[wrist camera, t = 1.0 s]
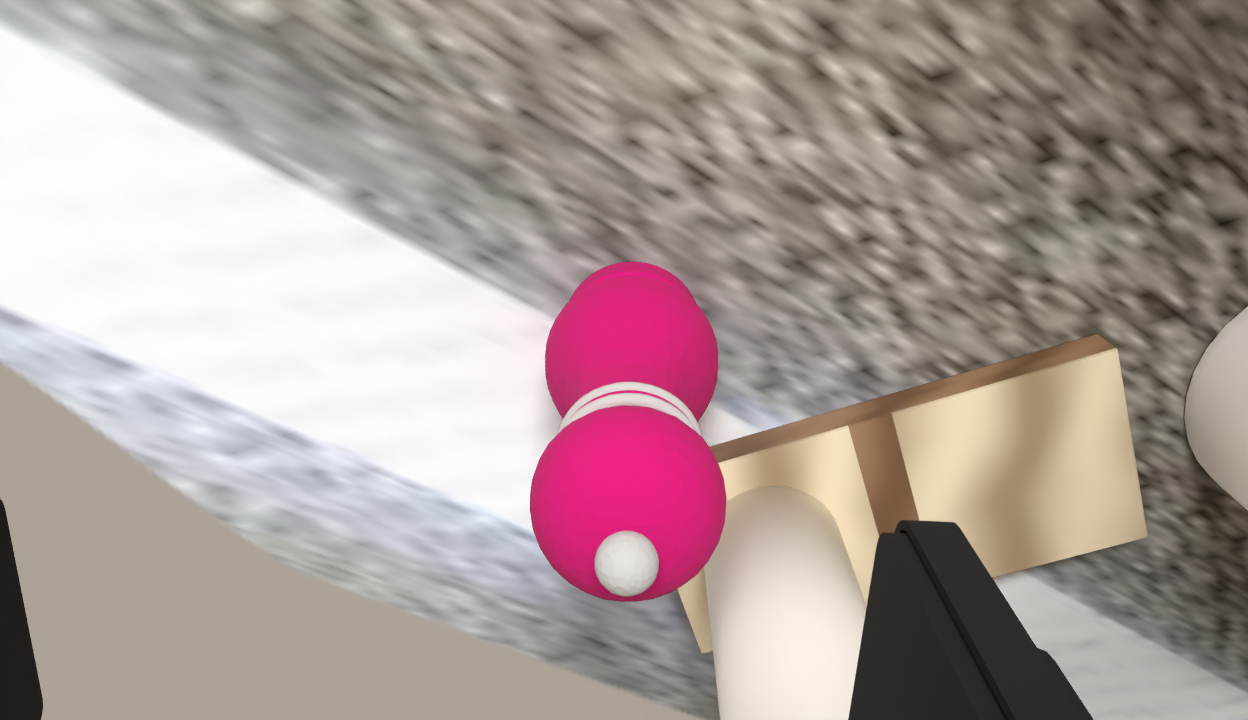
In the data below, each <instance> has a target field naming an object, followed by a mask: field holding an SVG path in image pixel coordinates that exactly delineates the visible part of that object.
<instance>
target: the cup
mask: <svg viewBox="0 0 1248 720" xmlns="http://www.w3.org/2000/svg"><path fill="white" fill-rule="evenodd" d="M1184 420H1185V426H1186V432H1187V438H1188V442H1189V444H1190V446H1191V449H1192V451H1193V453H1194V455H1195V457H1196V459H1197V461H1198V462H1199V464H1200V465H1201V466H1202V467H1203V468H1204V470H1205V471H1206V472H1207V473H1208V474H1209V475H1210V477H1211V478H1212V479H1213V480H1214V481H1215V482H1216V483H1217V484H1218V485H1219V486H1220V487H1222V488H1223V489H1224V490H1225V491H1226V492H1227V493H1228V494H1230V495H1231V496H1232V497H1233V498H1234V499H1235V500H1236V501H1237V502H1239V503H1240V504H1241V505H1242V506H1243V507H1244V508H1245V509H1247V510H1248V306H1247V307H1246V308H1245V309H1244V310H1243V311H1242V312H1240V313H1239V314H1238V315H1237V316H1236V317H1235V318H1234V319H1232V320H1231V321H1230V322H1229V323H1228V324H1227V325H1226V326H1225V327H1224V328H1223V329H1222V330H1221V331H1220V333H1219V334H1218V335H1217V336H1216V338H1215V339H1214V340H1213V341H1212V342H1211V344H1210V345H1209V346H1208V347H1207V349H1206V351H1205V352H1204V354H1203V356H1202V358H1201V360H1200V362H1199V363H1198V365H1197V367H1196V369H1195V371H1194V373H1193V376H1192V379H1191V383H1190V386H1189V389H1188V392H1187V395H1186V406H1185V419H1184Z"/></svg>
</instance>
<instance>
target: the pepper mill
mask: <svg viewBox="0 0 1248 720" xmlns="http://www.w3.org/2000/svg"><path fill="white" fill-rule="evenodd" d="M545 371H546V380H547V385H548V389H549V392H550V395H551V397H552V400H553V402H554V404H555V406H556V408H557V410H558V411H559V413H560V415H561V417H562V418H563V420H562V422H561V424H560V426H559V429H558V433H557V436H556V437H555V438H554V439H553V440H552V441H551V442H550V443H549V444H548V446H547V448H546V449H545V451H544V453H543V454H542V456H541V458H540V460H539V462H538V465H537V468H536V470H535V473H534V476H533V479H532V485H531V493H530V513H531V520H532V526H533V530H534V533H535V536H536V539H537V541H538V544H539V547H540V549H541V550H542V552H543V554H544V555H545V557H546V558H547V560H548V561H549V563H550V564H551V566H552V567H553V568H554V569H555V570H556V571H557V572H558V573H559V574H560V575H561V576H562V577H563V578H564V579H565V580H567V581H568V582H569V583H570V584H572V585H573V586H575V587H577V588H579V589H580V590H582V591H584V592H586V593H588V594H591V595H594V596H596V597H599V598H602V599H606V600H613V601H620V602H624V601H642V600H649V599H654V598H657V597H660V596H662V595H665V594H668V593H671V592H672V591H674V590H676V589H678V588H680V587H681V586H683V585H684V584H686V583H687V582H688V581H690V580H691V579H692V578H694V577H695V576H696V575H697V574H698V573H699V572H700V571H701V570H702V568H703V567H704V566H705V565H706V564H707V562H708V561H709V559H710V557H711V556H712V554H713V552H714V550H715V548H716V547H717V545H718V543H719V541H720V537H721V534H722V531H723V527H724V523H725V515H726V499H727V497H726V490H725V484H724V478H723V475H722V472H721V469H720V467H719V464H718V462H717V460H716V457H715V455H714V453H713V452H712V450H711V449H710V447H709V446H708V445H707V443H706V442H705V440H704V439H703V437H702V433H701V430H700V427H699V425H698V421H699V419H700V418H701V416H702V415H703V413H704V412H705V410H706V408H707V406H708V404H709V402H710V400H711V398H712V396H713V393H714V390H715V386H716V382H717V371H718V349H717V343H716V338H715V335H714V332H713V329H712V327H711V325H710V323H709V321H708V320H707V318H706V316H705V314H704V313H703V311H702V310H701V309H700V308H699V307H698V306H697V304H696V302H695V300H694V298H693V296H692V294H691V293H690V291H689V290H688V288H687V287H686V286H685V285H684V284H683V282H681V281H680V280H679V279H678V278H677V277H676V276H674V275H673V274H671V273H670V272H668V271H666V270H664V269H662V268H660V267H658V266H655V265H652V264H647V263H642V262H623V263H617V264H613V265H610V266H607V267H604V268H602V269H600V270H598V271H596V272H595V273H593V274H592V275H590V276H589V277H588V278H587V279H585V280H584V281H583V282H582V283H581V284H580V285H579V287H578V288H577V289H576V291H575V292H574V293H573V295H572V297H571V299H570V301H569V302H568V303H567V304H566V306H565V307H564V308H563V309H562V311H561V312H560V314H559V315H558V317H557V318H556V320H555V322H554V324H553V326H552V328H551V330H550V333H549V336H548V340H547V345H546V353H545Z"/></svg>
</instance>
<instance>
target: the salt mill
mask: <svg viewBox="0 0 1248 720" xmlns="http://www.w3.org/2000/svg"><path fill="white" fill-rule="evenodd" d="M704 572H705V581H706V590H707V600H708V609H709V619H710V628H711V638H712V647H713V656H714V666H715V675H716V685H717V694H718V703H719V713H720V720H848V718H849V712H850V706H851V700H852V694H853V687H854V681H855V675H856V669H857V663H858V657H859V650H860V644H861V638H862V632H863V626H864V620H865V614H866V607H867V606H866V603H865V600H864V597H863V595H862V592H861V589H860V586H859V583H858V581H857V578H856V575H855V572H854V569H853V567H852V564H851V561H850V558H849V555H848V553H847V550H846V547H845V544H844V541H843V539H842V536H841V533H840V530H839V527H838V525H837V522H836V520H835V518H834V516H833V515H832V513H831V512H830V511H829V509H828V508H827V507H826V506H825V505H824V504H823V503H822V502H821V501H819V500H818V499H817V498H815V497H814V496H812V495H810V494H808V493H806V492H804V491H801V490H798V489H795V488H791V487H784V486H765V487H759V488H754V489H751V490H748V491H745V492H742V493H740V494H738V495H736V496H734V497H733V498H731V499H730V500H728V501H727V502H726V515H725V523H724V527H723V531H722V534H721V537H720V541H719V543H718V545H717V547H716V548H715V550H714V552H713V554H712V556H711V557H710V559H709V561H708V562H707V564H706V565H705V566H704Z"/></svg>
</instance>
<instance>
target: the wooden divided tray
mask: <svg viewBox="0 0 1248 720" xmlns="http://www.w3.org/2000/svg"><path fill="white" fill-rule="evenodd" d="M710 449H711V450H712V452H713V453H714V455H715V457H716V460H717V462H718V464H719V467H720V469H721V472H722V475H723V478H724V484H725V490H726V497H727V499H726V502H727V501H728V500H730V499H731V498H733V497H734V496H736V495H738V494H740V493H742V492H745V491H748V490H751V489H754V488H759V487H765V486H784V487H791V488H795V489H798V490H801V491H804V492H806V493H808V494H810V495H812V496H814V497H815V498H817V499H818V500H819V501H821V502H822V503H823V504H824V505H825V506H826V507H827V508H828V509H829V511H830V512H831V513H832V515H833V516H834V518H835V520H836V522H837V525H838V527H839V530H840V533H841V536H842V539H843V541H844V544H845V547H846V550H847V553H848V555H849V558H850V561H851V564H852V567H853V569H854V572H855V575H856V578H857V581H858V583H859V586H860V589H861V592H862V595H863V597H864V600H865V603H866V606H867V601H868V595H869V589H870V583H871V577H872V571H873V564H874V558H875V552H876V546H877V542H878V539H879V536H880V534H882V533H883V532H886V533H894V532H895V529H896V527H897V524H898V523H899V522H900V521H901V520H917V521H940V522H954V523H956V524H957V525H958V526H959V527H960V529H961V530H962V532H963V533H964V535H965V537H966V538H967V540H968V541H969V543H970V544H971V546H972V547H973V549H974V551H975V552H976V554H977V555H978V557H979V558H980V560H981V562H982V563H983V565H984V566H985V568H986V569H987V571H988V572H989V574H990V576H991V577H992V578H993V577H997V576H1001V575H1005V574H1009V573H1012V572H1016V571H1020V570H1024V569H1028V568H1032V567H1035V566H1039V565H1043V564H1047V563H1051V562H1054V561H1058V560H1062V559H1066V558H1070V557H1074V556H1077V555H1081V554H1085V553H1089V552H1093V551H1096V550H1100V549H1104V548H1108V547H1112V546H1116V545H1119V544H1123V543H1127V542H1131V541H1135V540H1138V539H1142V538H1146V537H1148V536H1147V530H1146V524H1145V517H1144V511H1143V505H1142V499H1141V492H1140V486H1139V480H1138V474H1137V468H1136V461H1135V455H1134V449H1133V443H1132V436H1131V430H1130V424H1129V418H1128V412H1127V405H1126V399H1125V393H1124V387H1123V380H1122V374H1121V368H1120V362H1119V355H1118V350H1117V349H1116V348H1115V347H1113V346H1112V345H1111V344H1110V343H1108V342H1107V341H1106V340H1105V339H1103V338H1102V337H1101V336H1099V335H1098V334H1095V335H1092V336H1088V337H1085V338H1082V339H1078V340H1075V341H1071V342H1068V343H1064V344H1061V345H1058V346H1054V347H1051V348H1047V349H1044V350H1040V351H1037V352H1034V353H1030V354H1027V355H1023V356H1020V357H1016V358H1013V359H1010V360H1006V361H1003V362H999V363H996V364H992V365H989V366H986V367H982V368H979V369H975V370H972V371H968V372H965V373H962V374H958V375H955V376H951V377H948V378H944V379H941V380H937V381H934V382H931V383H927V384H924V385H920V386H917V387H913V388H910V389H907V390H903V391H900V392H896V393H893V394H889V395H886V396H883V397H879V398H876V399H872V400H869V401H865V402H862V403H859V404H855V405H852V406H848V407H845V408H841V409H838V410H835V411H831V412H828V413H824V414H821V415H817V416H814V417H811V418H807V419H804V420H800V421H797V422H793V423H790V424H786V425H783V426H780V427H776V428H773V429H769V430H766V431H762V432H759V433H756V434H752V435H749V436H745V437H742V438H738V439H735V440H732V441H728V442H725V443H721V444H718V445H714V446H711V447H710ZM677 590H678V592H679V595H680V598H681V600H682V603H683V606H684V608H685V611H686V614H687V616H688V619H689V622H690V624H691V627H692V630H693V632H694V635H695V638H696V640H697V643H698V645H699V648H700V651H701V653H702V654H703V653H707V652H711V651H713V647H712V638H711V628H710V619H709V609H708V600H707V590H706V581H705V572H704V567H703V568H702V570H701V571H700V572H699V573H698V574H697V575H696V576H695V577H694V578H692V579H691V580H690V581H688V582H687V583H686V584H684V585H683V586H681V587H680V588H678V589H677Z"/></svg>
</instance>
